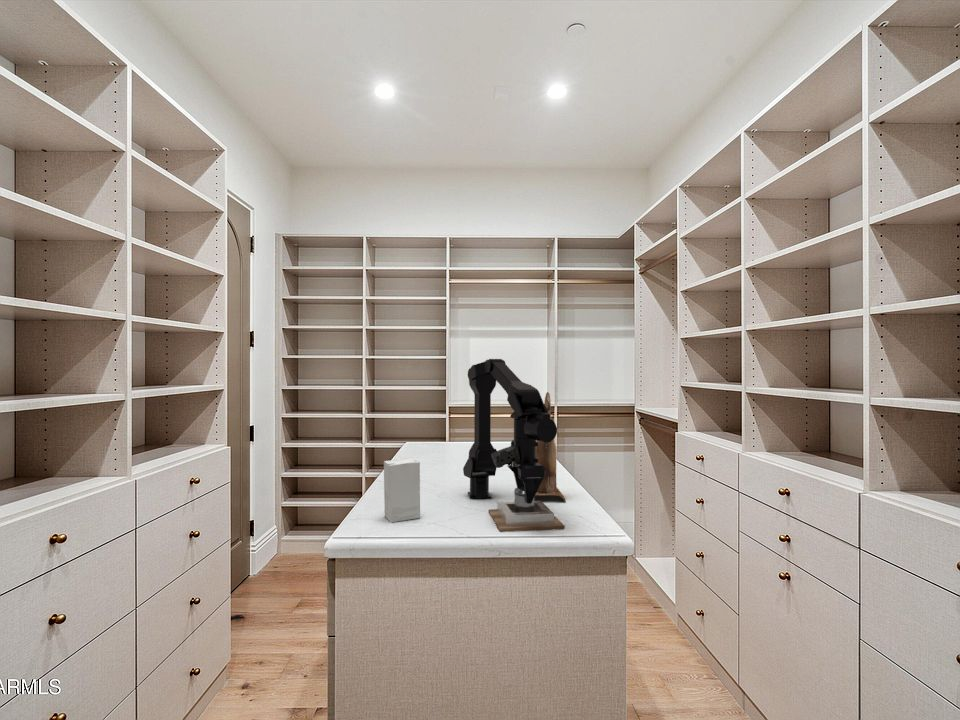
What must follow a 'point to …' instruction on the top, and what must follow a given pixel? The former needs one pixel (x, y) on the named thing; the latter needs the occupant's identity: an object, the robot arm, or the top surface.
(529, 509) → the cylinder
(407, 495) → the skincare box
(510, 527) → the walnut board
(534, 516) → the grey square tray
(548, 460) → the bird sculpture
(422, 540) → the top surface
